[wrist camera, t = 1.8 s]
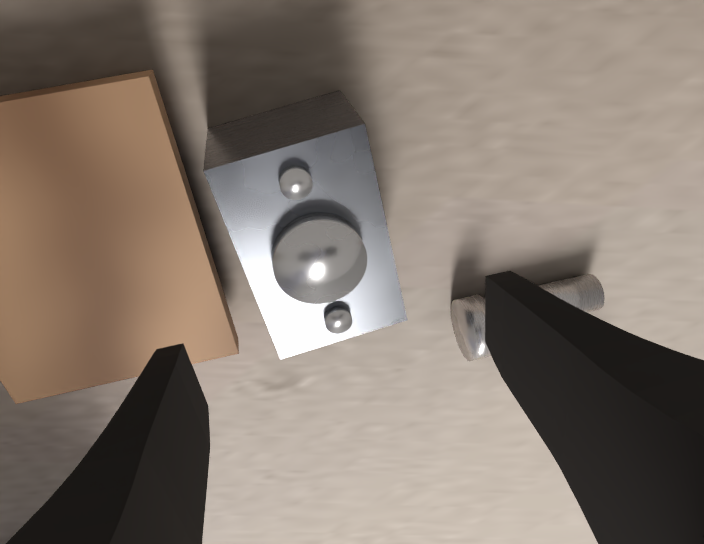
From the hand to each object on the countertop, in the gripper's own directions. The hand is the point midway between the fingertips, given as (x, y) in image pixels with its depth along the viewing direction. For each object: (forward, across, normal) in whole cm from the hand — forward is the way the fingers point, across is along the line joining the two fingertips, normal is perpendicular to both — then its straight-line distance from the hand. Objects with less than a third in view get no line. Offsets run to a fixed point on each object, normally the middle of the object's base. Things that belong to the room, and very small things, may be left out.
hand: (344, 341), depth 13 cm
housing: (+8, 0, 0) cm, 8 cm away
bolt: (+8, -9, +7) cm, 14 cm away
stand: (+8, +8, 0) cm, 11 cm away
